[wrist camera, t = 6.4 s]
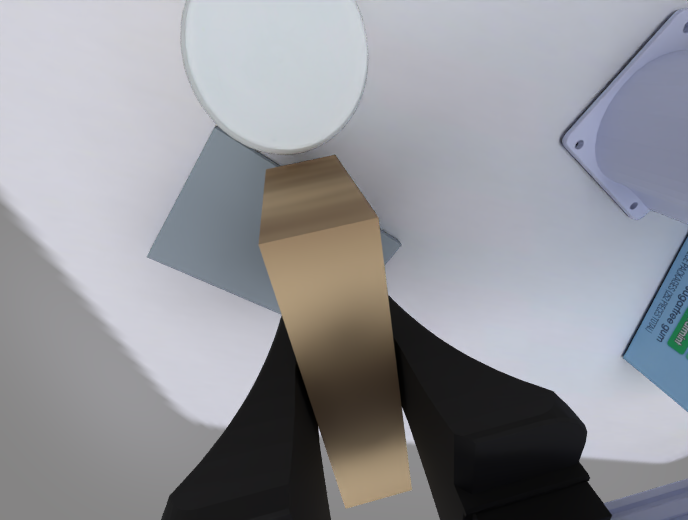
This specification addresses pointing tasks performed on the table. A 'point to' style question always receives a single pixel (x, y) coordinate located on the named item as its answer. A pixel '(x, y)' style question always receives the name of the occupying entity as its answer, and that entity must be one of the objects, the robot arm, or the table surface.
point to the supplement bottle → (276, 68)
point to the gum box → (666, 335)
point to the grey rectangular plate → (225, 222)
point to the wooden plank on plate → (338, 320)
